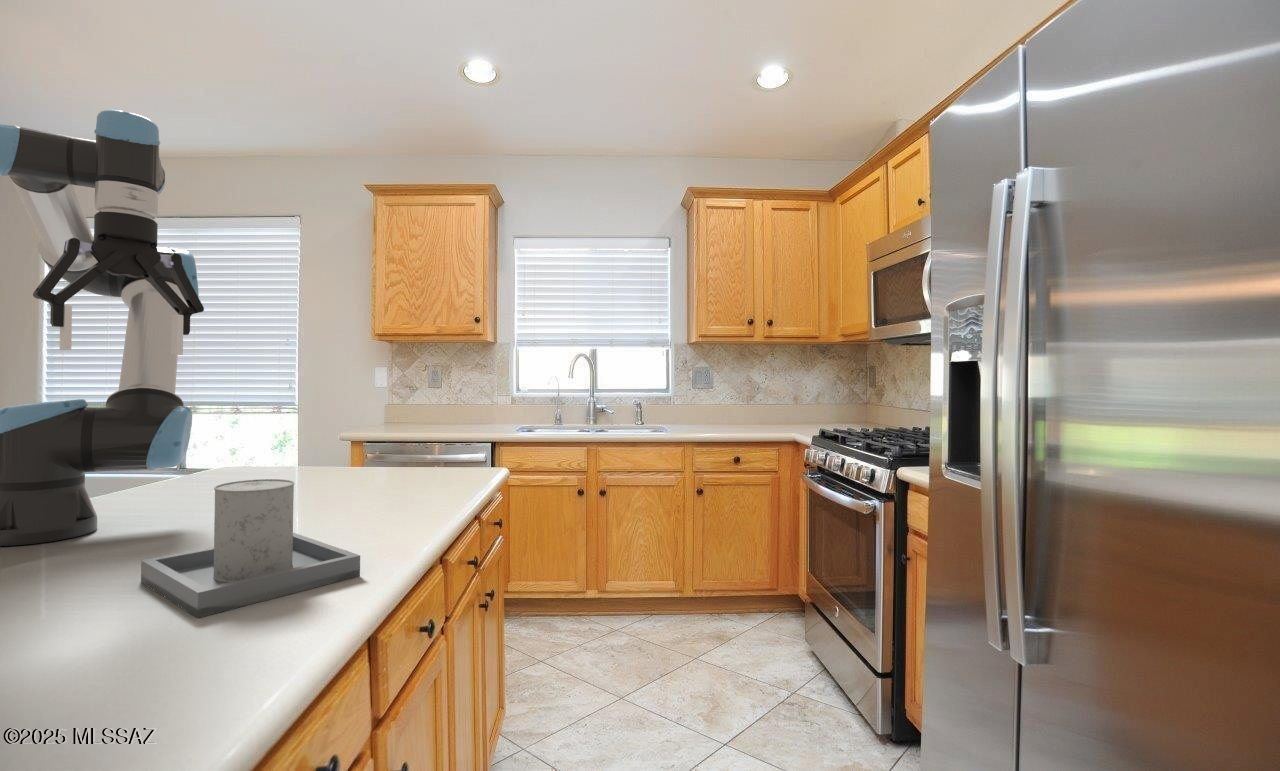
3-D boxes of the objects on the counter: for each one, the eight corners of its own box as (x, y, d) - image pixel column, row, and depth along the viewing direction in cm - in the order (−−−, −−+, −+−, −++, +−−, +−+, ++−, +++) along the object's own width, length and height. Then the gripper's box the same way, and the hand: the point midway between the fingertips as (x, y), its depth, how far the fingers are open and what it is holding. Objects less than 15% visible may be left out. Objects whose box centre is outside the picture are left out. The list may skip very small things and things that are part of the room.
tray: (140, 582, 83) (141, 560, 83) (293, 550, 99) (294, 532, 99) (197, 618, 71) (197, 592, 71) (359, 576, 88) (360, 555, 88)
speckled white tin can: (307, 563, 90) (309, 480, 90) (261, 584, 80) (263, 492, 80) (247, 560, 91) (248, 478, 91) (194, 580, 81) (196, 489, 81)
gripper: (18, 190, 82) (15, 347, 82) (227, 230, 102) (225, 356, 102) (7, 199, 86) (4, 348, 86) (210, 235, 107) (207, 356, 107)
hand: (124, 352), depth 94 cm, fingers open, 13 cm apart
